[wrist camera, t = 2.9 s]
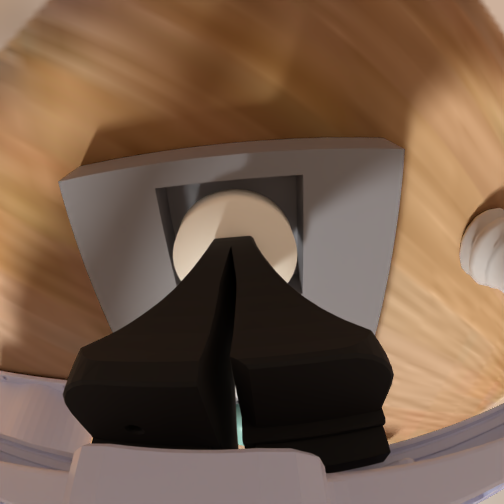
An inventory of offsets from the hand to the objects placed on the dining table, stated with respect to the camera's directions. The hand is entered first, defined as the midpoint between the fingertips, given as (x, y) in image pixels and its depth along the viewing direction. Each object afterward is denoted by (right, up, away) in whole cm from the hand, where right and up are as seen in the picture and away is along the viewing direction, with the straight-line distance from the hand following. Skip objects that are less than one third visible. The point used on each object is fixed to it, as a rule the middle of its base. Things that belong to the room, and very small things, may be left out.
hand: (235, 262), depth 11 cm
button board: (0, -4, +6) cm, 7 cm away
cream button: (0, +1, +1) cm, 1 cm away
